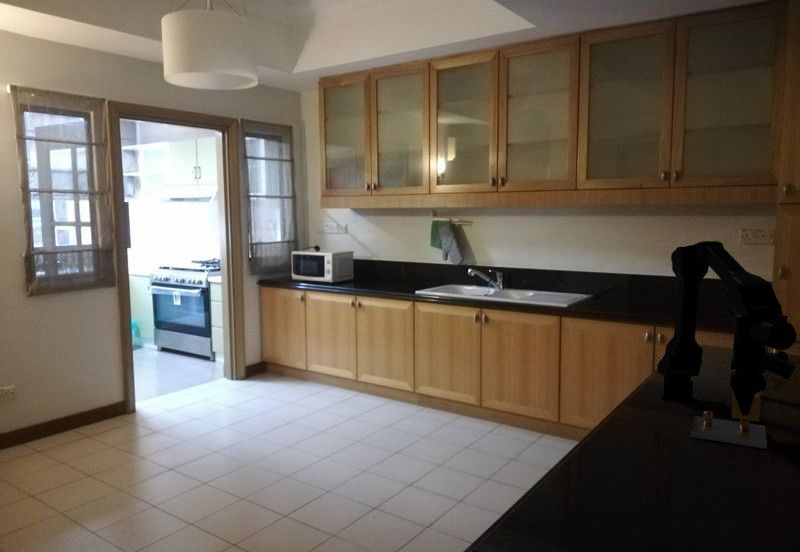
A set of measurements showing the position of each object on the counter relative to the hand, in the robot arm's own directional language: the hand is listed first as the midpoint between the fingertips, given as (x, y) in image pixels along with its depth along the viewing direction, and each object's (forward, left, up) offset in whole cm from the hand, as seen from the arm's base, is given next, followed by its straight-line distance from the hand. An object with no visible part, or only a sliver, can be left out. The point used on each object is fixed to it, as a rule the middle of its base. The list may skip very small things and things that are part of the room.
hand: (745, 411), depth 131 cm
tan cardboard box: (0, 0, -1) cm, 1 cm away
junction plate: (-3, 0, -6) cm, 6 cm away
